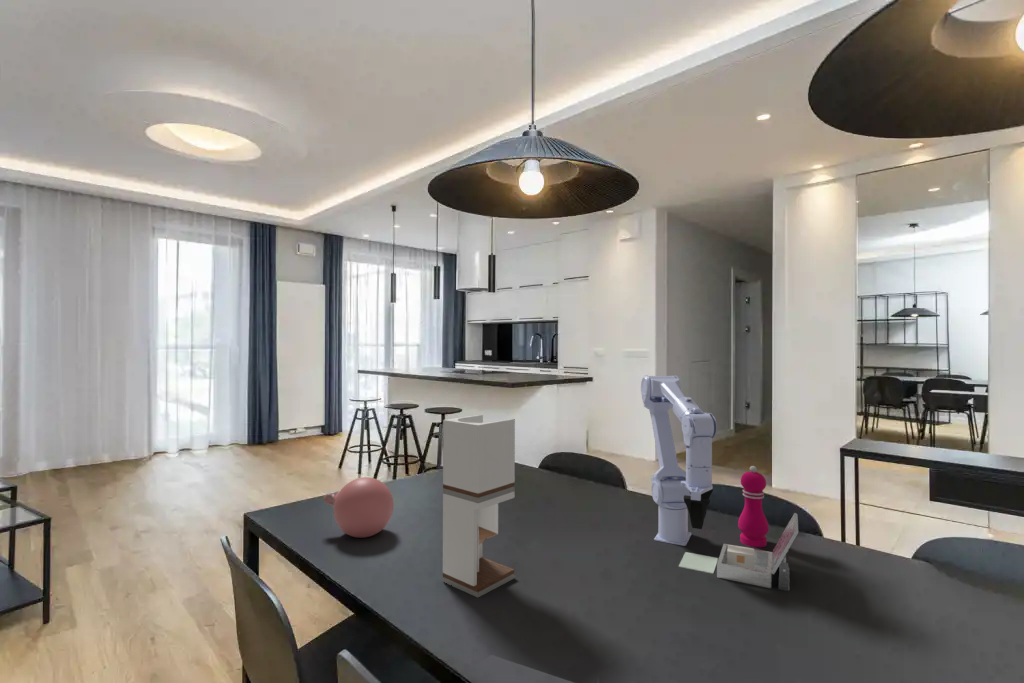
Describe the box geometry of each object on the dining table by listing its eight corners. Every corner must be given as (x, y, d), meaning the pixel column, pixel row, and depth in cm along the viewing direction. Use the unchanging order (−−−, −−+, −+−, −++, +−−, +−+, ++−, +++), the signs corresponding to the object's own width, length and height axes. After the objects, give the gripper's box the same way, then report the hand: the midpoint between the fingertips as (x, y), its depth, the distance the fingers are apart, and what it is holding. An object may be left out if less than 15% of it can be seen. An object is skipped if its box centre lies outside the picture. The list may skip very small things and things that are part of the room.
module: (728, 563, 119) (728, 544, 119) (754, 568, 117) (754, 548, 117) (727, 571, 115) (727, 551, 115) (754, 575, 113) (754, 555, 113)
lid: (794, 512, 117) (797, 514, 116) (772, 550, 119) (775, 552, 118) (795, 530, 105) (798, 532, 105) (770, 572, 107) (773, 574, 107)
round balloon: (342, 521, 148) (342, 468, 148) (403, 528, 142) (404, 473, 142) (306, 541, 133) (306, 482, 133) (373, 550, 127) (373, 488, 127)
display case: (477, 598, 103) (478, 425, 103) (442, 582, 110) (443, 420, 110) (514, 578, 112) (514, 419, 112) (479, 564, 119) (480, 414, 119)
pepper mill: (772, 549, 128) (772, 470, 128) (741, 547, 129) (741, 468, 130) (764, 539, 135) (764, 463, 135) (735, 536, 137) (735, 462, 137)
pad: (685, 553, 125) (685, 551, 125) (718, 559, 122) (718, 558, 122) (678, 567, 118) (678, 565, 118) (713, 574, 114) (713, 572, 114)
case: (723, 556, 124) (723, 536, 124) (789, 569, 117) (789, 547, 117) (717, 578, 112) (717, 555, 112) (789, 593, 106) (789, 569, 106)
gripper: (684, 457, 128) (684, 511, 128) (676, 469, 115) (676, 530, 115) (714, 459, 125) (714, 515, 125) (710, 473, 112) (710, 535, 112)
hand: (698, 522), depth 120 cm, fingers open, 7 cm apart
